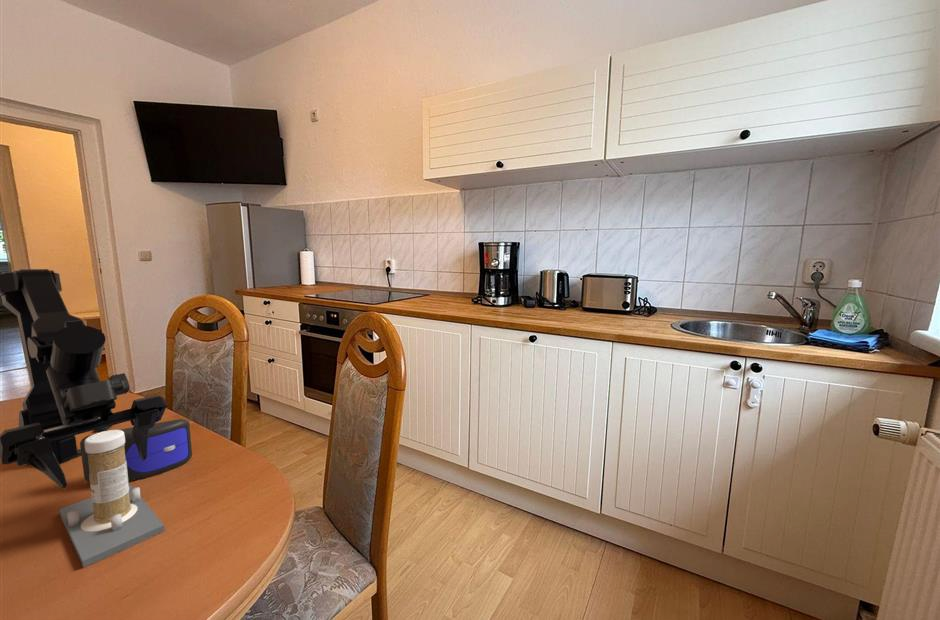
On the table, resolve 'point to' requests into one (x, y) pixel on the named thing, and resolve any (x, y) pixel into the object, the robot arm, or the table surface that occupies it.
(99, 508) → the sprinkles bottle
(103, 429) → the usb stick
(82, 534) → the pin board
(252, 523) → the table surface
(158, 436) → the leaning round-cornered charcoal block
